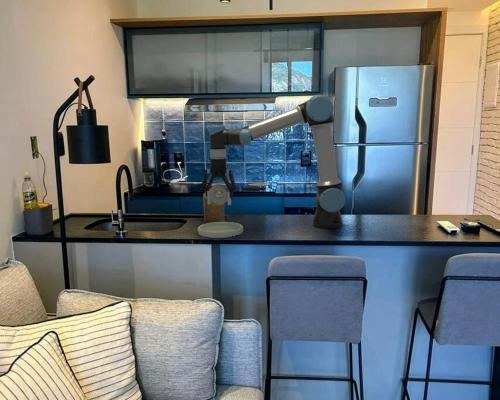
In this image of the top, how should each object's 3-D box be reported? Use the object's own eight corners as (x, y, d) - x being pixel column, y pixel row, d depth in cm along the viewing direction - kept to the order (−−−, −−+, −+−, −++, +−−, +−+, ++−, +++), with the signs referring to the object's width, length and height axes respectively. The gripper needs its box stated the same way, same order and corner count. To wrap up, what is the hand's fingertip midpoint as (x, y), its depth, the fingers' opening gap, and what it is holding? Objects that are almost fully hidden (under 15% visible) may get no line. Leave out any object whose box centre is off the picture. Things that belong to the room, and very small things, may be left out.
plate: (248, 227, 215) (247, 223, 215) (234, 239, 195) (234, 233, 194) (208, 225, 221) (208, 221, 221) (191, 236, 201) (190, 231, 201)
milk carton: (224, 222, 228) (223, 187, 225) (205, 223, 226) (203, 188, 223) (223, 218, 238) (222, 184, 235) (204, 219, 237) (202, 185, 233)
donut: (229, 203, 207) (229, 183, 206) (229, 205, 204) (229, 184, 202) (209, 204, 207) (208, 183, 206) (208, 205, 204) (208, 184, 202)
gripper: (243, 157, 202) (243, 203, 206) (199, 157, 208) (201, 202, 212) (238, 159, 195) (238, 206, 199) (193, 158, 201) (195, 204, 205)
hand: (219, 204), depth 206 cm, fingers closed on donut, 10 cm apart
